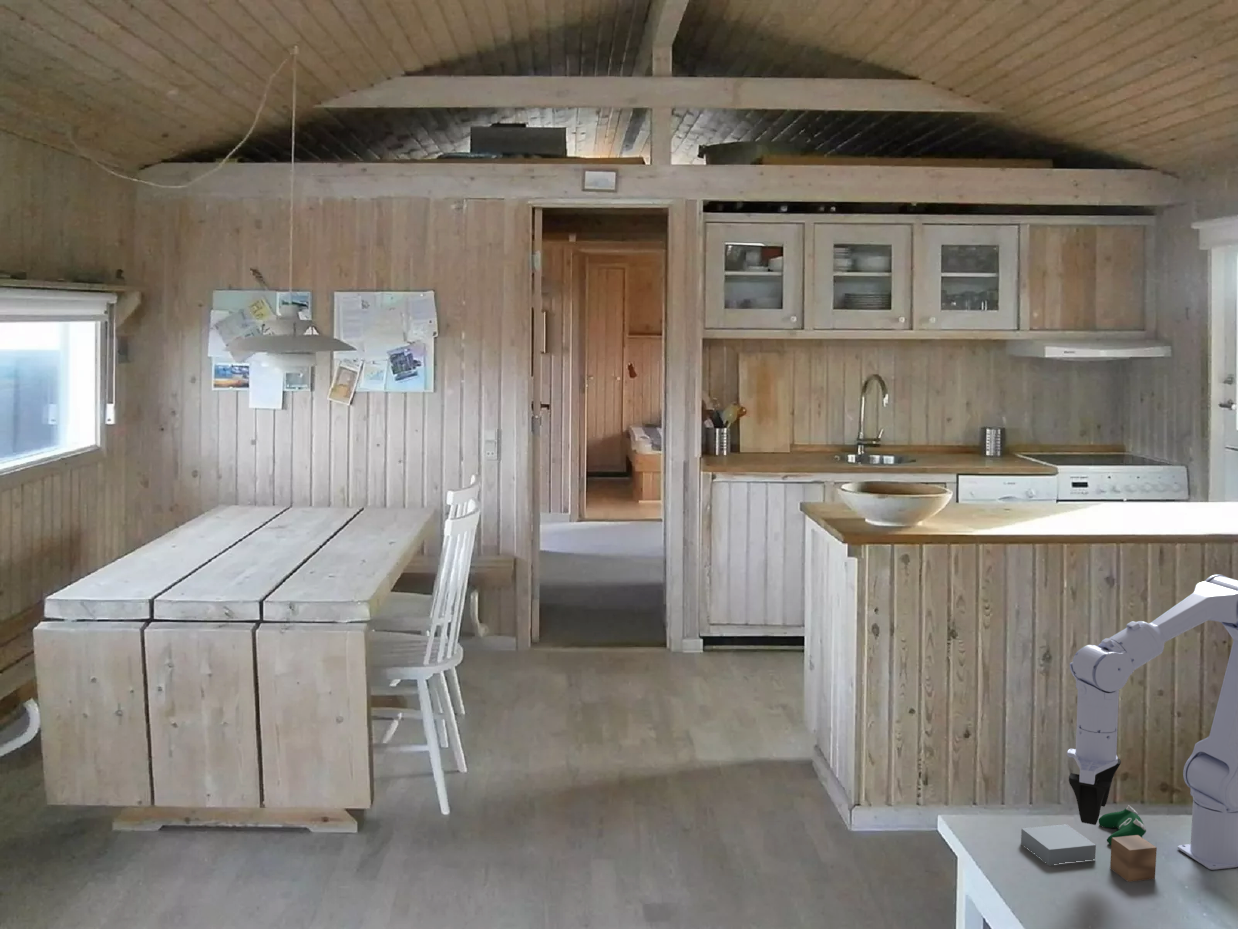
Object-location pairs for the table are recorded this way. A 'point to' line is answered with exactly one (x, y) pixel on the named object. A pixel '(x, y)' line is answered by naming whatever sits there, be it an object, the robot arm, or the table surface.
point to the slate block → (1058, 844)
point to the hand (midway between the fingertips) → (1093, 813)
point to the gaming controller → (1123, 823)
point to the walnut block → (1133, 858)
